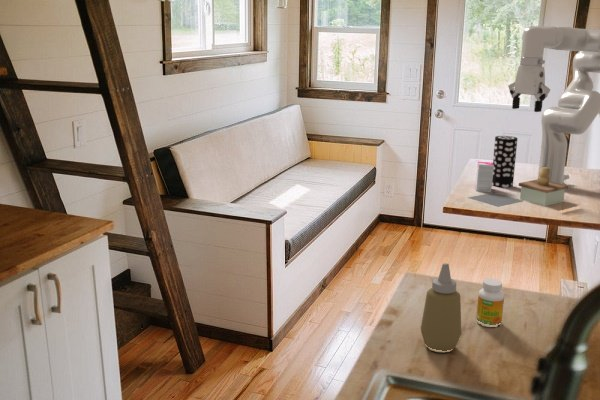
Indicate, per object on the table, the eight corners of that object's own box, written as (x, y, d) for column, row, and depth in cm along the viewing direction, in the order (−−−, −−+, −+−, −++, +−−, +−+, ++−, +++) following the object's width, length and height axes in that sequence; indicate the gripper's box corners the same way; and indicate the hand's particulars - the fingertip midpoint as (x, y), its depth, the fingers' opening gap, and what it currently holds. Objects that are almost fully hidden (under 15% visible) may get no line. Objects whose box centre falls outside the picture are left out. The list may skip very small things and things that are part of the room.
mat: (493, 194, 245) (493, 192, 245) (523, 203, 234) (524, 200, 234) (467, 200, 238) (467, 197, 237) (497, 209, 226) (498, 206, 226)
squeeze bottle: (415, 338, 134) (420, 257, 130) (452, 337, 135) (459, 256, 130) (425, 357, 127) (431, 272, 122) (465, 356, 127) (472, 271, 122)
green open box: (538, 197, 242) (539, 182, 240) (563, 204, 233) (565, 188, 232) (519, 201, 236) (521, 185, 234) (544, 208, 228) (546, 192, 226)
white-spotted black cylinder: (487, 187, 256) (491, 137, 251) (496, 183, 262) (501, 135, 256) (506, 191, 251) (511, 140, 245) (516, 187, 256) (521, 137, 251)
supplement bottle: (477, 327, 139) (480, 285, 137) (474, 316, 144) (478, 276, 142) (502, 329, 139) (507, 287, 136) (499, 318, 144) (503, 278, 141)
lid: (539, 181, 241) (541, 163, 239) (567, 188, 231) (570, 169, 230) (518, 185, 235) (520, 167, 233) (546, 193, 225) (549, 173, 223)
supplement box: (491, 194, 246) (494, 165, 243) (475, 193, 247) (477, 164, 244) (490, 190, 251) (492, 161, 248) (474, 189, 252) (477, 161, 249)
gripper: (558, 63, 227) (553, 112, 232) (518, 60, 241) (513, 106, 245) (545, 64, 223) (539, 113, 228) (505, 61, 237) (500, 108, 241)
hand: (526, 110), depth 237 cm, fingers open, 9 cm apart
